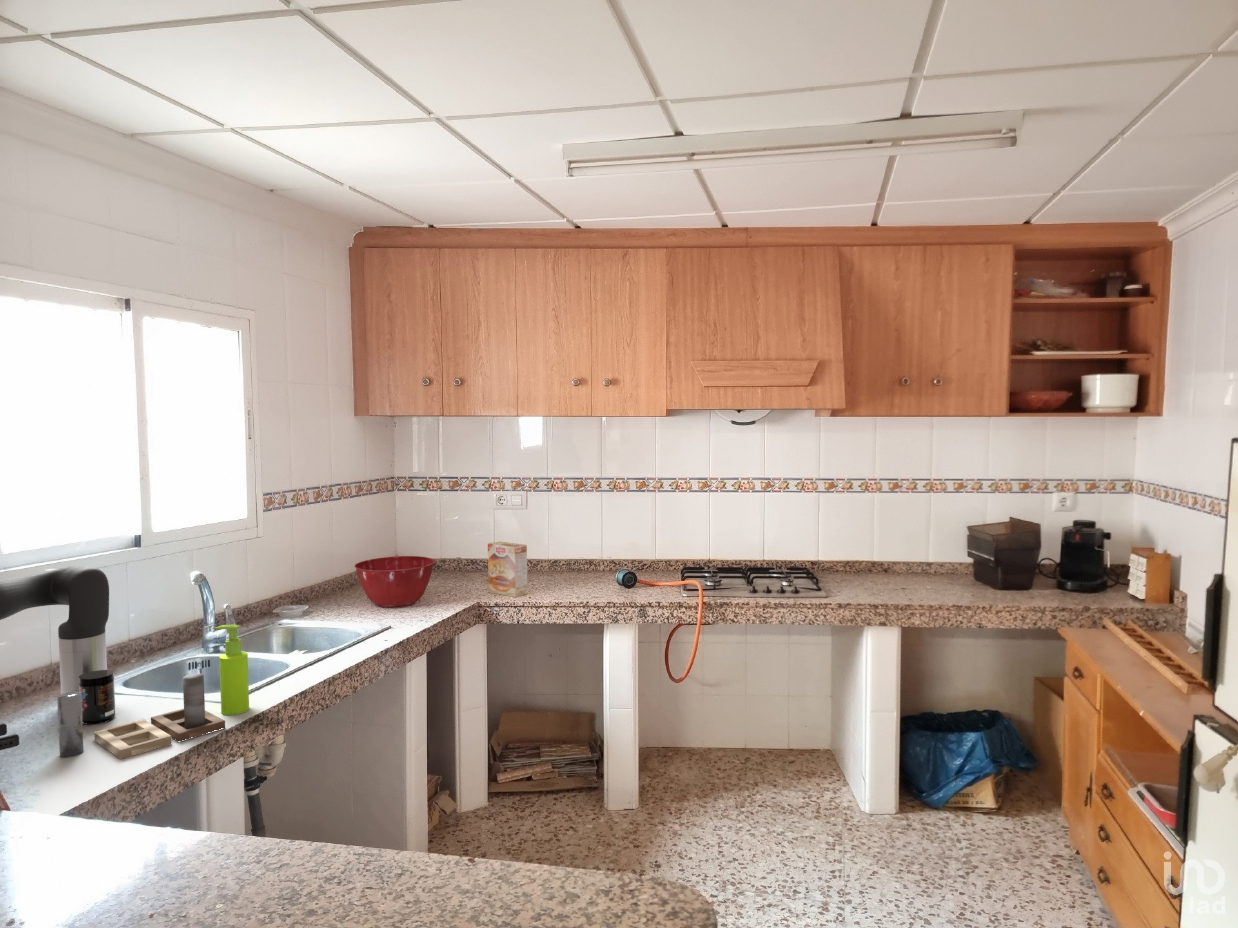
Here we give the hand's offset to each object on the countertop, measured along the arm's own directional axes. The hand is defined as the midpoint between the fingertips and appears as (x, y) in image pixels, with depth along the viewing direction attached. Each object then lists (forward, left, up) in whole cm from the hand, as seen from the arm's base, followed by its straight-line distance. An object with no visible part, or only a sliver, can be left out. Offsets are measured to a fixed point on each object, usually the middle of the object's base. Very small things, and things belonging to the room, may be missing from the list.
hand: (12, 733), depth 156 cm
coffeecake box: (-45, +169, -7) cm, 175 cm away
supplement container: (-17, +20, -7) cm, 27 cm away
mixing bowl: (-64, +131, -7) cm, 146 cm away
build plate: (+4, +20, -7) cm, 21 cm away
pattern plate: (+4, +31, -7) cm, 32 cm away
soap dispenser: (+1, +42, -7) cm, 42 cm away
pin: (0, +10, -7) cm, 12 cm away
